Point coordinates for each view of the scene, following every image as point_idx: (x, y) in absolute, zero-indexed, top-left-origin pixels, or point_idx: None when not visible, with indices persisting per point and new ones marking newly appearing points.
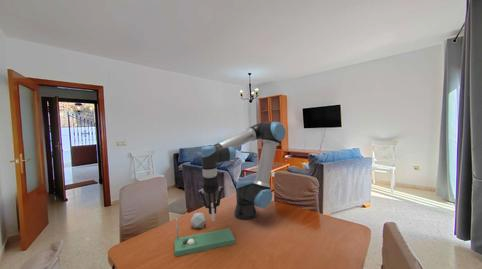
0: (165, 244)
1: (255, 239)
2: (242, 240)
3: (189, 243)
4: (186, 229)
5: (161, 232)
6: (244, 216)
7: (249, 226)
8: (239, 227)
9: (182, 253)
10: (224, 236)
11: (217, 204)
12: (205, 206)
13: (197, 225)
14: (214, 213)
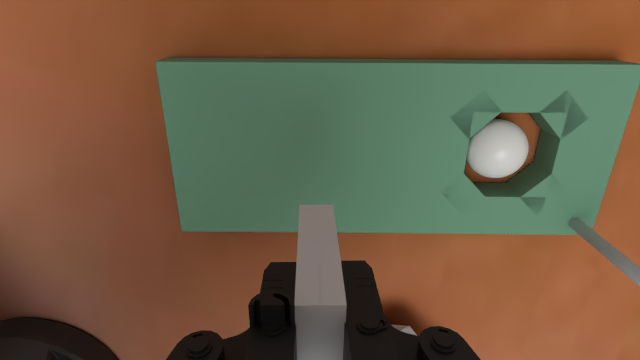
0: (628, 223)
1: (3, 57)
2: (109, 81)
3: (517, 129)
4: (462, 336)
5: (610, 352)
6: (47, 341)
7: (36, 237)
8: (111, 248)
9: (572, 61)
10: (236, 132)
11: (213, 358)
12: (471, 357)
13: (405, 328)
14: (297, 251)
